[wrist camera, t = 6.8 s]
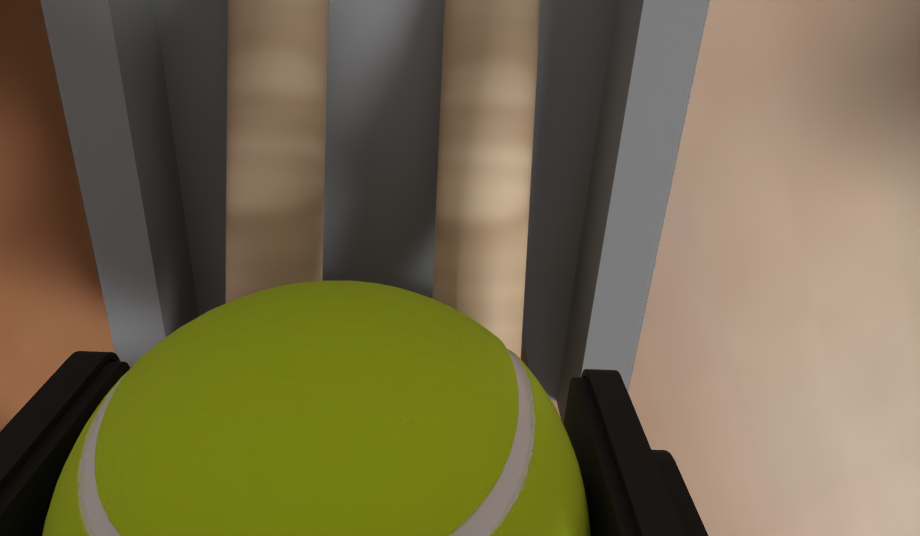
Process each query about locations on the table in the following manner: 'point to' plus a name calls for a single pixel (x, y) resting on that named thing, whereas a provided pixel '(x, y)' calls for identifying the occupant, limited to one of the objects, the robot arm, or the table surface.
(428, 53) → the grey tray
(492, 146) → the dowel ramp
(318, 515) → the tennis ball
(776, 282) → the table surface
